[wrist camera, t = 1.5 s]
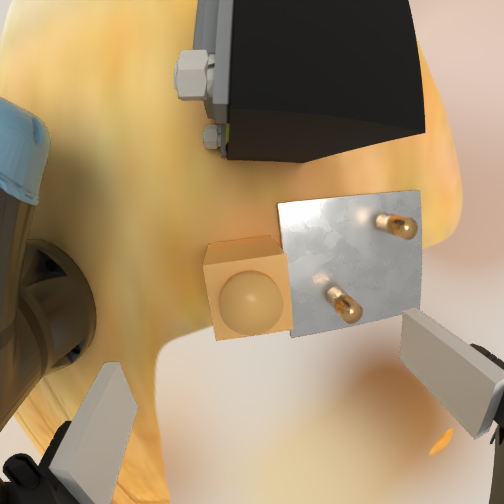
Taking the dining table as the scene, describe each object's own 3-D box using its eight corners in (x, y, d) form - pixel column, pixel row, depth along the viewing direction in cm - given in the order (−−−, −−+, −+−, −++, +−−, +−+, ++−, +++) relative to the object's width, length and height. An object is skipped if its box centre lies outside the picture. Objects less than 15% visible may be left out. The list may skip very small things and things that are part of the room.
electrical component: (213, 6, 25) (208, -134, 6) (308, 13, 26) (379, -109, 6) (204, 159, 29) (163, 109, 9) (309, 163, 30) (438, 135, 10)
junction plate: (290, 334, 33) (291, 337, 32) (276, 203, 30) (278, 203, 29) (416, 307, 34) (419, 309, 33) (416, 190, 31) (420, 190, 30)
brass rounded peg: (376, 232, 31) (400, 241, 26) (375, 213, 30) (399, 218, 25) (392, 230, 31) (418, 238, 26) (391, 211, 30) (417, 216, 25)
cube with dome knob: (218, 301, 32) (215, 350, 22) (208, 243, 30) (200, 271, 21) (276, 293, 32) (297, 338, 22) (270, 235, 31) (290, 258, 21)
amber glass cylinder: (326, 306, 32) (342, 325, 27) (325, 288, 31) (342, 305, 26) (344, 302, 32) (362, 321, 27) (343, 284, 31) (362, 301, 27)
